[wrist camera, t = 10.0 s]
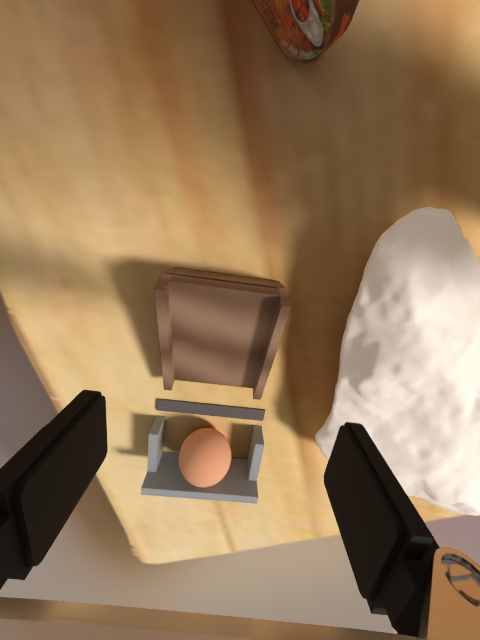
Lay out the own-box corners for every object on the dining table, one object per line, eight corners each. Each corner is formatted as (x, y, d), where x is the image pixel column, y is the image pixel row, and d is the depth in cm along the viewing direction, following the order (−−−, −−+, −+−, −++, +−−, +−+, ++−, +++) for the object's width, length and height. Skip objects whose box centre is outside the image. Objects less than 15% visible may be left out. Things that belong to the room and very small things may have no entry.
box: (157, 398, 30) (142, 428, 25) (264, 409, 31) (270, 440, 26) (154, 457, 33) (141, 494, 28) (253, 465, 34) (256, 503, 29)
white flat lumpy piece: (343, 511, 35) (393, 597, 26) (240, 280, 24) (266, 296, 15) (489, 433, 36) (584, 491, 27) (451, 179, 25) (586, 140, 16)
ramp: (175, 266, 25) (154, 277, 19) (278, 280, 26) (293, 295, 19) (169, 378, 29) (149, 420, 23) (258, 388, 30) (265, 431, 23)
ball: (186, 415, 31) (176, 447, 25) (233, 420, 32) (235, 453, 26) (181, 458, 32) (170, 499, 26) (228, 462, 33) (227, 503, 27)
